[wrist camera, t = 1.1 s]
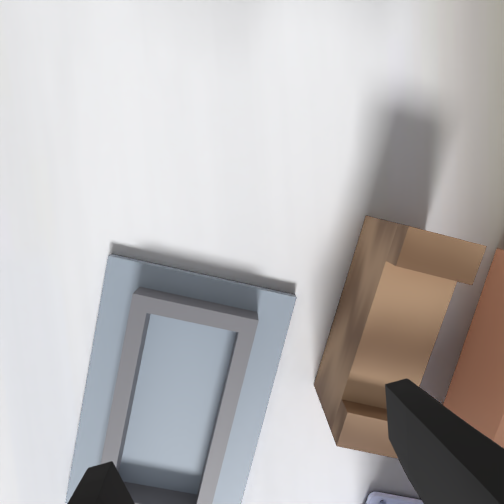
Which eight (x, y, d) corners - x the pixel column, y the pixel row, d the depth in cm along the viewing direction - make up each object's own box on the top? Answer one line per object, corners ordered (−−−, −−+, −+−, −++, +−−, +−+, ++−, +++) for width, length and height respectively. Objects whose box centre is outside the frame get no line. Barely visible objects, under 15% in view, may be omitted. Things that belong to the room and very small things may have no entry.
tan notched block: (364, 215, 24) (408, 226, 17) (423, 230, 24) (486, 246, 18) (313, 383, 26) (336, 445, 19) (367, 395, 26) (407, 460, 20)
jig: (295, 294, 24) (300, 304, 22) (233, 524, 27) (233, 552, 25) (111, 253, 23) (99, 260, 21) (69, 495, 26) (54, 522, 24)
